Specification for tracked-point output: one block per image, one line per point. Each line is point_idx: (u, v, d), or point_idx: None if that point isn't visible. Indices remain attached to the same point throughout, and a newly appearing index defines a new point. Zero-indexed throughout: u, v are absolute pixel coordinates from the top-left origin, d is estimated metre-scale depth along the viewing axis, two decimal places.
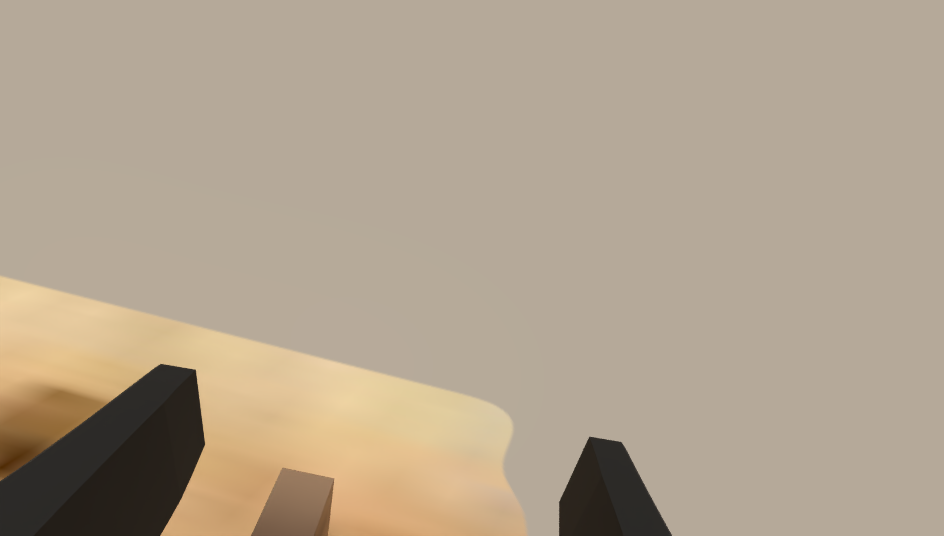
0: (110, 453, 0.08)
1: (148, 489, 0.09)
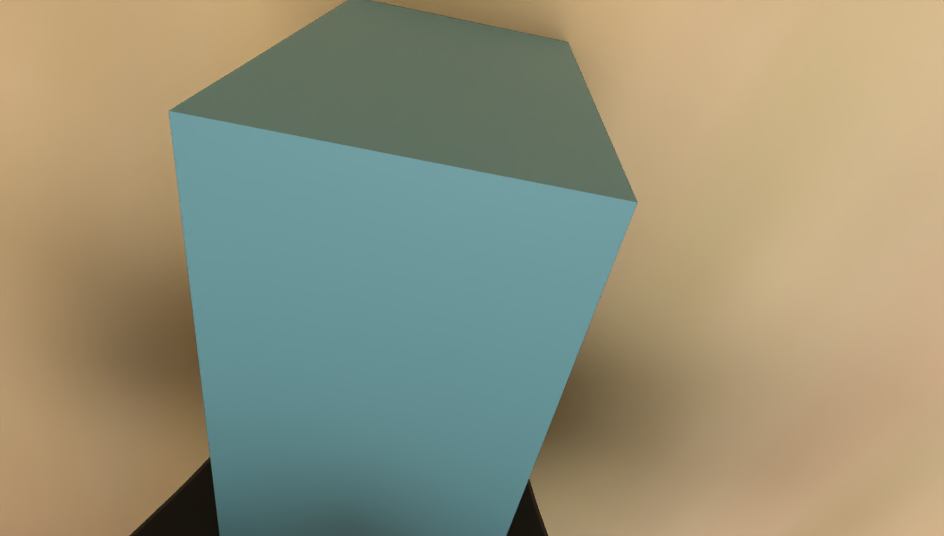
0: None
1: None
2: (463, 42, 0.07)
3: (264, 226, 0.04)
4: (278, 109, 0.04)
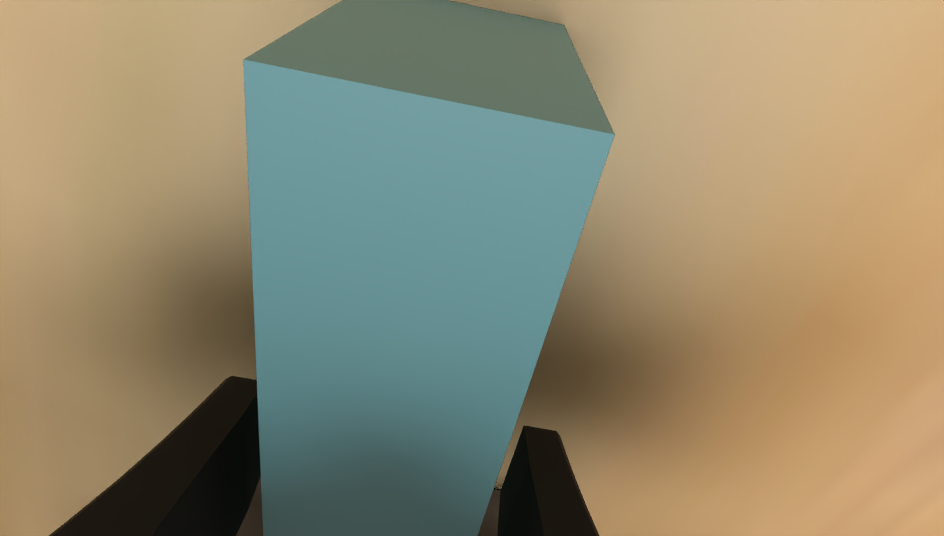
0: (199, 467, 0.08)
1: (225, 501, 0.09)
2: (470, 20, 0.07)
3: (313, 157, 0.05)
4: (325, 62, 0.05)
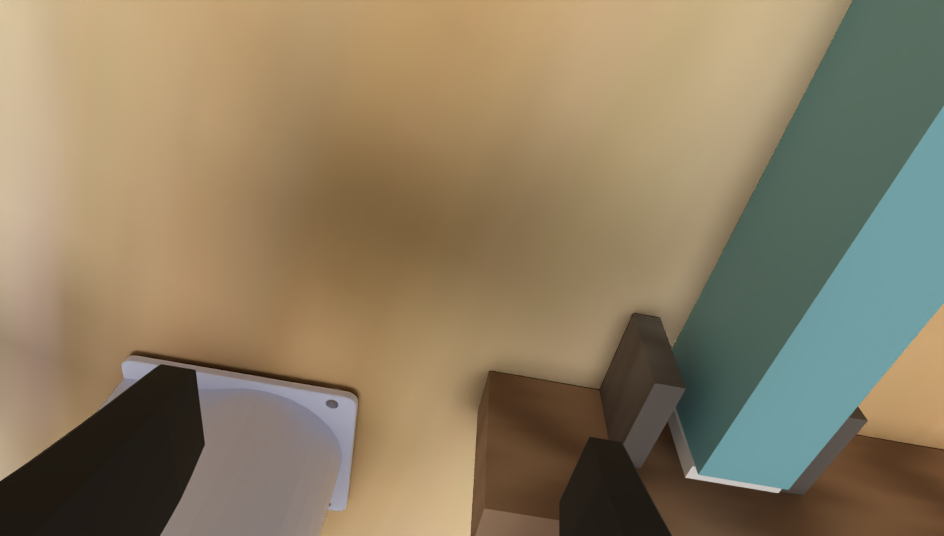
0: (110, 453, 0.08)
1: (148, 489, 0.09)
2: None
3: None
4: None
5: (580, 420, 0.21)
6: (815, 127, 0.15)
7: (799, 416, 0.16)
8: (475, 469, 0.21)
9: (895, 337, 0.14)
